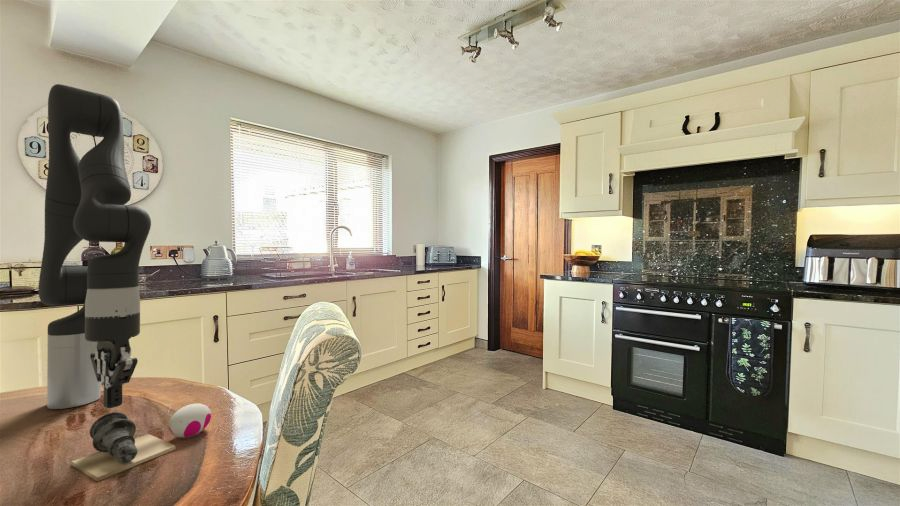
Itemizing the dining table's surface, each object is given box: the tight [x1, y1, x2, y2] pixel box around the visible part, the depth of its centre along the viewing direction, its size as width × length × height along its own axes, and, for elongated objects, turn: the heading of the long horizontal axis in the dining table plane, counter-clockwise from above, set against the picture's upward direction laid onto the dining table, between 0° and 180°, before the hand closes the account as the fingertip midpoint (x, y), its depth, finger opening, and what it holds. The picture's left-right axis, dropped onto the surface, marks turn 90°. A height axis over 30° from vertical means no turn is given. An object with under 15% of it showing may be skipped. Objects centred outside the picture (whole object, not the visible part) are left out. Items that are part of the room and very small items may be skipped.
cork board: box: [71, 433, 177, 482], centre depth 65 cm, size 10×11×1 cm
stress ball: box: [168, 403, 212, 438], centre depth 74 cm, size 8×8×7 cm
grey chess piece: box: [89, 411, 138, 463], centre depth 65 cm, size 6×6×12 cm
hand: (113, 406), depth 68 cm, fingers closed
